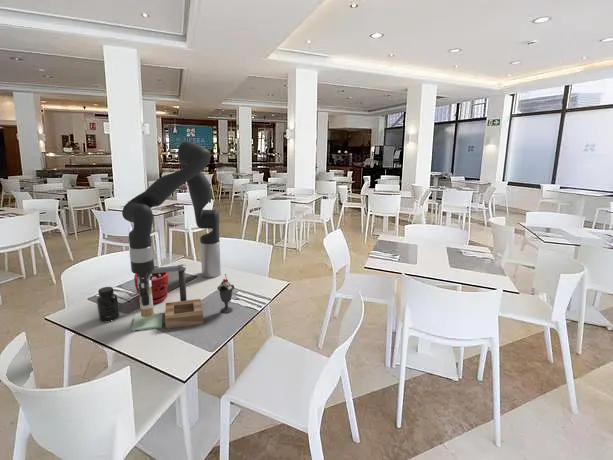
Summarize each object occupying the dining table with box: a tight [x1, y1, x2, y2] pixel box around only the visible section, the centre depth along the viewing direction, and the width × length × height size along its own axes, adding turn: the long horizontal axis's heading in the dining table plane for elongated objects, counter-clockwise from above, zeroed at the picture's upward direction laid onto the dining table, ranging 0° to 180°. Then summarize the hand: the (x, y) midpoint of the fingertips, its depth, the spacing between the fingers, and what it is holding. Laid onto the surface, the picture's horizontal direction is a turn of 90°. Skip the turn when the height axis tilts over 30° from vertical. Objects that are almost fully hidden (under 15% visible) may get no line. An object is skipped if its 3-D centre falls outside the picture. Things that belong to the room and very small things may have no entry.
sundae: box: [217, 273, 235, 314], centre depth 143 cm, size 7×7×15 cm
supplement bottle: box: [96, 286, 120, 322], centre depth 135 cm, size 7×7×12 cm
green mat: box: [131, 312, 164, 332], centre depth 134 cm, size 10×10×1 cm
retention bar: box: [149, 264, 186, 275], centre depth 141 cm, size 17×3×2 cm, turn 110°
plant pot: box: [133, 272, 169, 304], centre depth 151 cm, size 13×13×12 cm
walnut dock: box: [164, 270, 204, 330], centre depth 139 cm, size 19×13×16 cm
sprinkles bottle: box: [138, 280, 155, 317], centre depth 131 cm, size 5×5×14 cm
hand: (146, 301), depth 132 cm, fingers closed on sprinkles bottle, 4 cm apart
